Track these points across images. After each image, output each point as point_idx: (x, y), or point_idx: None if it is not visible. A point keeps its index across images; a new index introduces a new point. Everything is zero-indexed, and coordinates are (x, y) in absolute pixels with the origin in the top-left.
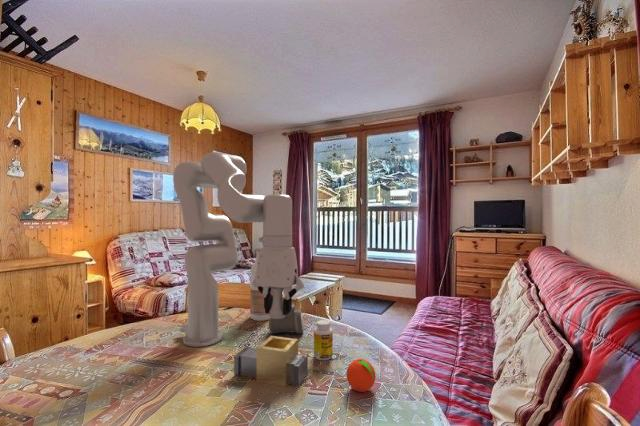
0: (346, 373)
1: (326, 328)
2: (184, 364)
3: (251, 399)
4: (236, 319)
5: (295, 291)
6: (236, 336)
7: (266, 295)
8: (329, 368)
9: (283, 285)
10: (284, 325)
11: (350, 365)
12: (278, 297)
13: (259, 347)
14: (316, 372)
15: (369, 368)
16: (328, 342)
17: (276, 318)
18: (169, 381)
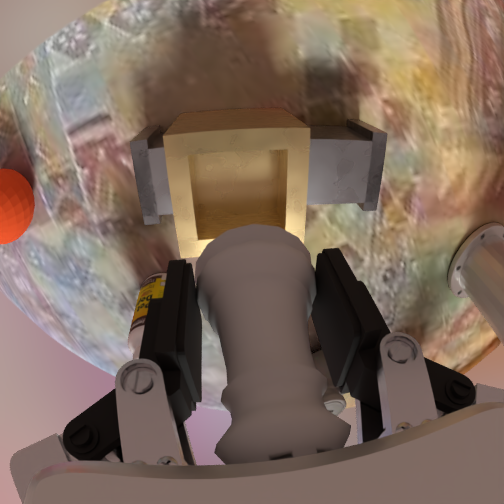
0: (26, 197)
1: (136, 348)
2: (482, 147)
3: (246, 25)
4: (434, 350)
5: (63, 433)
6: (422, 298)
7: (379, 355)
8: (120, 246)
9: (114, 500)
10: (320, 362)
11: (2, 205)
12: (246, 370)
13: (298, 132)
14: (139, 215)
15: None
16: (134, 314)
17: (235, 228)
18: (475, 72)
